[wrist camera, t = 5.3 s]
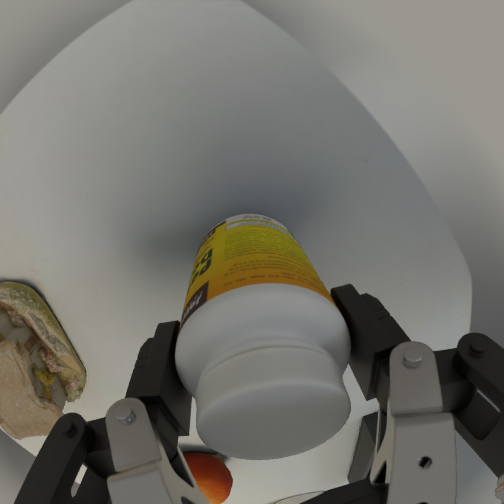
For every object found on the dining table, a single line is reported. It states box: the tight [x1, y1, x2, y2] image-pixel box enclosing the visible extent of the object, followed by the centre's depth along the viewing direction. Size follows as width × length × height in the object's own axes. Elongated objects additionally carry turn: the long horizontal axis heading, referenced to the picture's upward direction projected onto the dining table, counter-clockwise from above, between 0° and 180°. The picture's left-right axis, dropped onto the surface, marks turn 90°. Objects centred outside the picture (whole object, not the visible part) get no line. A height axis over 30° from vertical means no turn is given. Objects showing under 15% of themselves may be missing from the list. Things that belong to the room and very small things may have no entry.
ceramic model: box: [0, 281, 86, 440], centre depth 14 cm, size 14×11×10 cm
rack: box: [348, 412, 378, 484], centre depth 30 cm, size 9×26×4 cm, turn 11°
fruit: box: [182, 452, 233, 504], centre depth 25 cm, size 8×8×8 cm
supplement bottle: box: [175, 214, 351, 460], centre depth 11 cm, size 6×6×10 cm
